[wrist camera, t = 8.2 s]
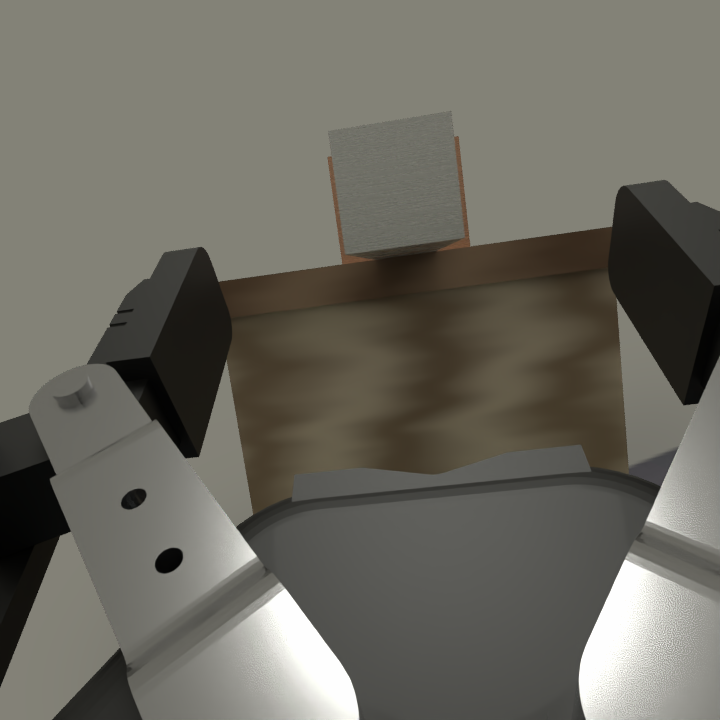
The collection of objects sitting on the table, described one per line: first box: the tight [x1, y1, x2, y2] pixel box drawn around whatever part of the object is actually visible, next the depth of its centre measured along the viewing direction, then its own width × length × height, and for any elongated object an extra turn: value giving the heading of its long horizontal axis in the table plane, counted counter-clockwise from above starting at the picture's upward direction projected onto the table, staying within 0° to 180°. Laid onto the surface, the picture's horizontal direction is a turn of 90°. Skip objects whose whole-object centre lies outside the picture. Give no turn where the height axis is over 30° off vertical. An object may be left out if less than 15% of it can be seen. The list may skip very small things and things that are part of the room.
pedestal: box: [219, 227, 629, 515], centre depth 33 cm, size 17×15×32 cm
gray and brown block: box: [328, 111, 470, 264], centre depth 22 cm, size 6×22×5 cm, turn 175°
